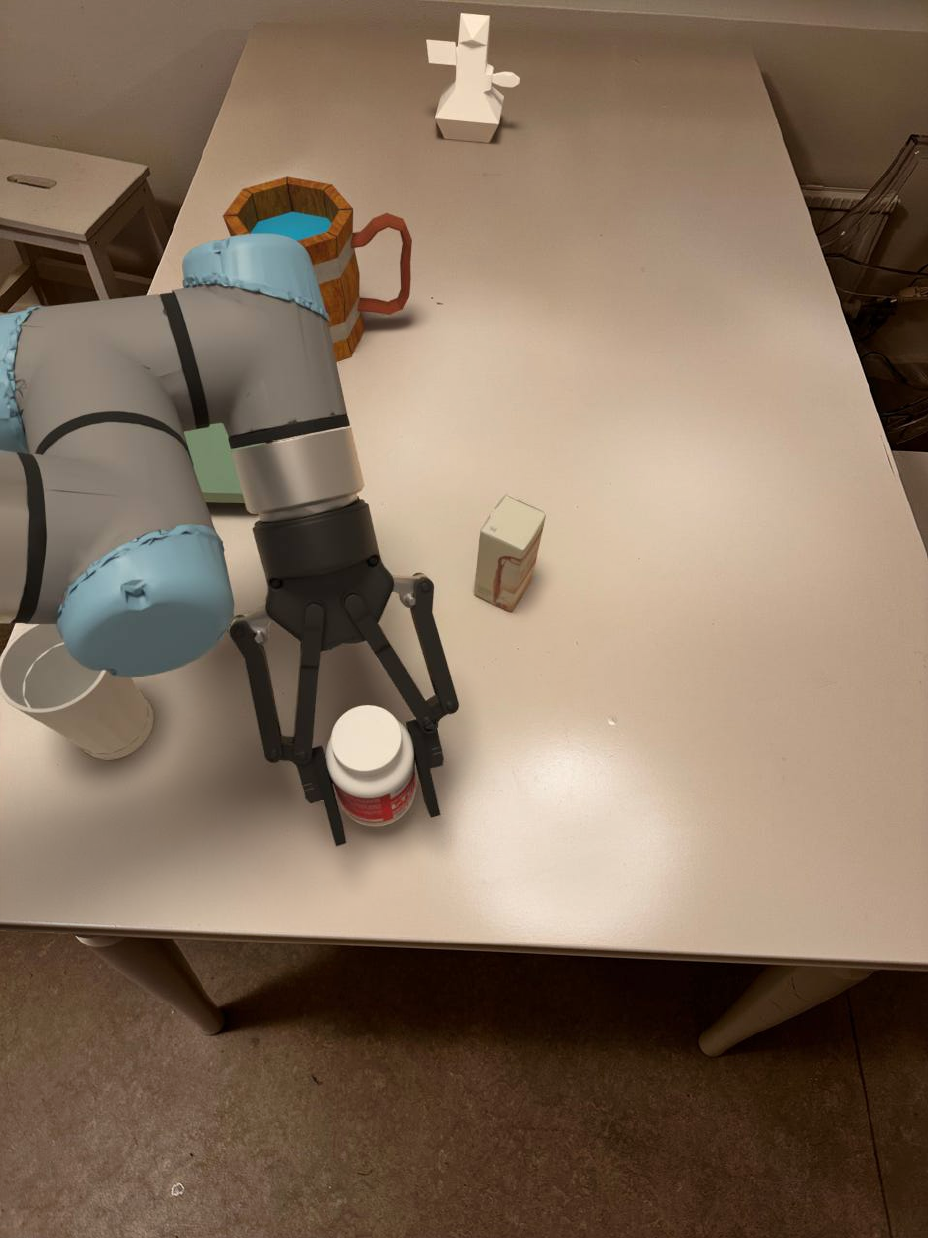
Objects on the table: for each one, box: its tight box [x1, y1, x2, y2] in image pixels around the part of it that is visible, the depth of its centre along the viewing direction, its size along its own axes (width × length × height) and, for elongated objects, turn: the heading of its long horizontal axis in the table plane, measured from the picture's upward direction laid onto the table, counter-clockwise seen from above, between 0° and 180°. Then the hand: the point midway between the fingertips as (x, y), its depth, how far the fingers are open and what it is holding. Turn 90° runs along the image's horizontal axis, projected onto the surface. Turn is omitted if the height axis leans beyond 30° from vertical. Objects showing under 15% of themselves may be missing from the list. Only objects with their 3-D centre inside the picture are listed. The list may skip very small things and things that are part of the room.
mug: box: [222, 175, 413, 363], centre depth 84 cm, size 20×14×15 cm
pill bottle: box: [325, 704, 417, 827], centre depth 53 cm, size 6×6×11 cm
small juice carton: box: [473, 493, 547, 612], centre depth 68 cm, size 5×4×10 cm
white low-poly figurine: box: [426, 12, 521, 144], centre depth 109 cm, size 8×14×14 cm, turn 83°
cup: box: [0, 624, 155, 761], centre depth 59 cm, size 8×8×12 cm
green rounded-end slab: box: [184, 423, 267, 504], centre depth 80 cm, size 22×12×4 cm, turn 179°
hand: (386, 820), depth 54 cm, fingers closed on pill bottle, 6 cm apart
